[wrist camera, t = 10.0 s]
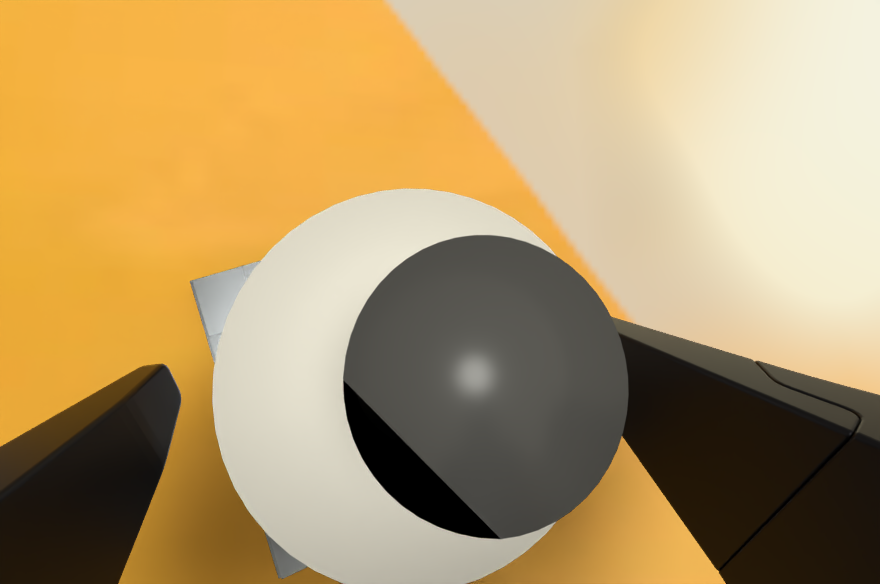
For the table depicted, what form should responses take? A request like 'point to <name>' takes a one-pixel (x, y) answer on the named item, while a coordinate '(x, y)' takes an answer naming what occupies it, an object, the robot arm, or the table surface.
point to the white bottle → (415, 390)
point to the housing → (214, 308)
